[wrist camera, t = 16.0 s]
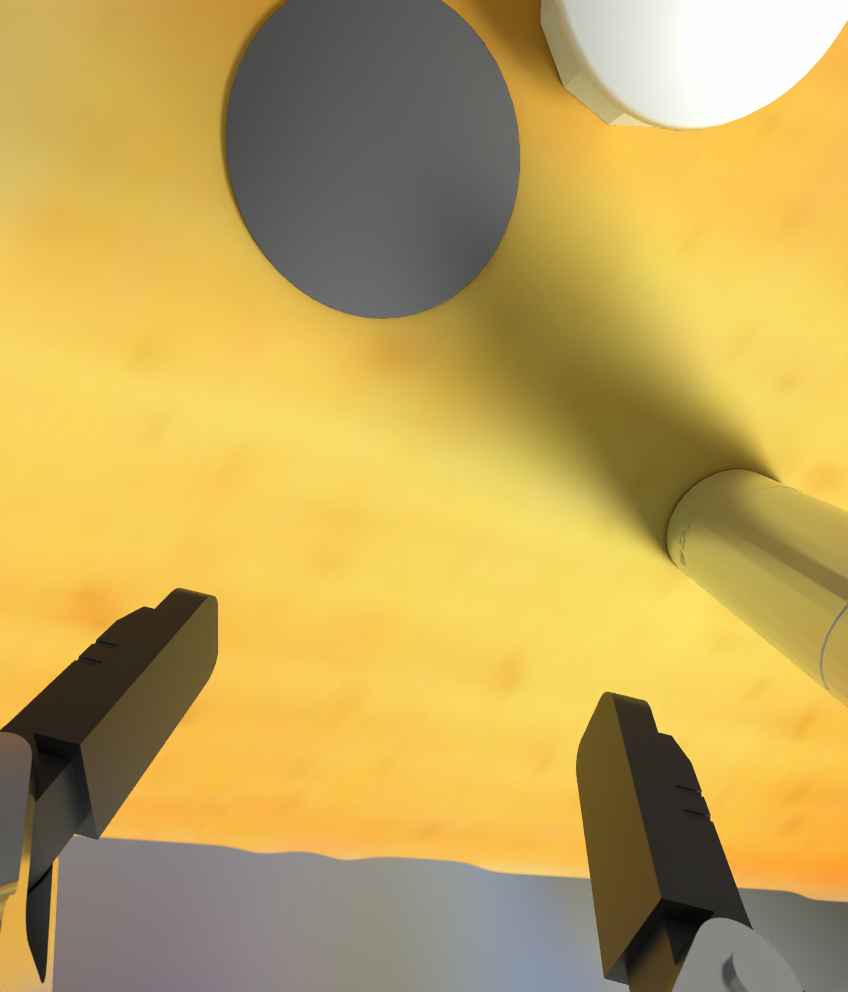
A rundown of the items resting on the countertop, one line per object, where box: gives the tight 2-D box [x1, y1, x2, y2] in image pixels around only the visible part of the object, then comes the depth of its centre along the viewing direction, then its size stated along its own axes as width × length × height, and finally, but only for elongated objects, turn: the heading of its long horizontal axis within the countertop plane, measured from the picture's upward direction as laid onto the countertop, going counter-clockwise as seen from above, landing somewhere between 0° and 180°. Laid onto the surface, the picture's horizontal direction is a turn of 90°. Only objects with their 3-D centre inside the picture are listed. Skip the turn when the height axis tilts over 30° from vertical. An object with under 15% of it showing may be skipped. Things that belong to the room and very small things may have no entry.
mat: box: [226, 0, 520, 318], centre depth 28 cm, size 16×16×1 cm
